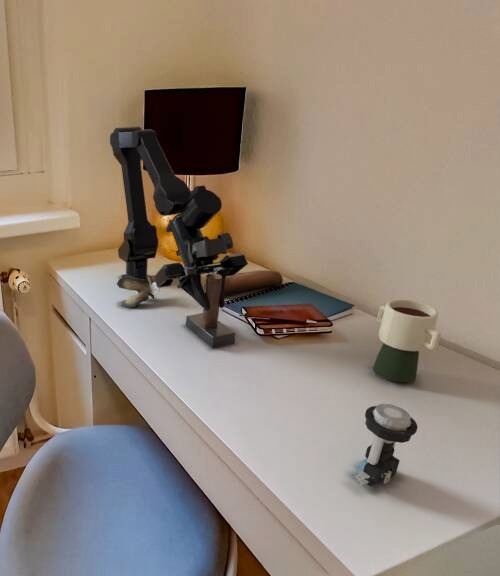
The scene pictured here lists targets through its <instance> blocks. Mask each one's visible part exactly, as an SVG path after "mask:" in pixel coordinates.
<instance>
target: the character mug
mask: <svg viewBox="0 0 500 576" xmlns="http://www.w3.org/2000/svg"><path fill="white" fill-rule="evenodd" d="M438 317H439V311H438V310H437V309H436V308H435V307H433V306H432V305H429V304H427V303H424V302H420V301H416V300H410V299H391V300H389V301H387V303H386V305H383V304H382V305H380V307H379V309H378V313H377V316H376V322H378V323H379V324H380V325H379V330H378V338H379V340H380V341H381V342H382V345H381V347H380V349H379V351H378V354H377V355H376V358H375V361H374V362H373V363H374V364H373V367H372V370H373V372H374V373H375V375H377V376H379V377H381V378H382V379H386V380H388V381H392V382H399V383H408V382H410V383H411V382H414V381H416V378H417V374H418V373H417V372H418V366H419V357H420V352H421V351H423V350H426V349H428V350H431V351H436V350H437V348H438V346H439V343H440V340H441V337H442V333H441V332H440V331H438V330H437V329H436V327H437V320H438Z"/></svg>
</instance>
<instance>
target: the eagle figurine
mask: <svg viewBox="0 0 500 576" xmlns="http://www.w3.org/2000/svg"><path fill="white" fill-rule="evenodd" d="M148 277H149V278H148V280H149V282H148V283H147V282H146V281H145V280H144V279H138V278H135V277H133V276H125V277H120V278H119V279H118V280H117V282H116V286H117V287H118V288H119V289H123V290H127V291H136V293H135V294H134V295H131V296H130V297H128V298H127V299H124V300H122V301H121V302H120V306H121V307H123V308H134V307H136V306H138V305H140V304H141V303H144V302H147V301H148V300H149V299H150V297H151V299H152V300H155V296H157V295H158V294H159V292H160V291H161V288H158V287H157V285H156V282H155V281H154V280H153V279H152V278H151V276H148ZM150 278H151V279H152V280H151V279H150Z"/></svg>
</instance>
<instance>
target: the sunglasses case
mask: <svg viewBox="0 0 500 576" xmlns="http://www.w3.org/2000/svg"><path fill="white" fill-rule="evenodd" d="M283 282H284V279H283V276H282V274H281V273H280V272H279V271H276V270H265V269H264V270H263V269H261V270H250V271H245V272H244V271H243V272H238V273H236V274H235V275H232V276H227V277H226V278H225V286H224V296H228V295H233V294H235V293H236V294H237V293H240V292H243V291H249V290H254V289H260V288H266V287H267V288H268V287H271V286H279V287H280V286H282V285H283ZM205 285H206V283H205V284H204V286H205Z"/></svg>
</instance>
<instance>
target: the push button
mask: <svg viewBox="0 0 500 576" xmlns="http://www.w3.org/2000/svg"><path fill="white" fill-rule="evenodd" d="M364 418H365V423H364V424H365V426H366V428H367V430H368V431H370V432H371V433H372V434H373V439H372V443H371V445H369V446H368V447H366V451H365V454H364V457H365V459H363V460H362V461H361V462H360V465H359V469H358V472H357V475H355V476H354V478H355V479H356V480H354V481H353V484H354V485H356V486H357V487H362V486H363V485H368V486H370V487H372V486H373V485H375V484H377V483H378V482H381V481H382V480H383V481H382V482H383V485H384V484H387V483H388V482H389V481H390V479H391V478H393V477H394V476H396V474H397V471H398V468H399V464H400V461H401V460H400V459H399V458H397V457H396V456H394V453H395V450H396V449H395V447H396V444H397V443H400V444H403V443H408V442H409V441H410V440H411V439H412V436H414V435H415V434H416V433H417V431H418V424H417V422H416V420H415V419H414V418H412V417H411V415H410V414H409V411H407V410H405V408H402V407H401V406H397V405H395V404H391V403H379V404H377V405H371V406H369V407H368V408H367V409H366V410H365V413H364Z"/></svg>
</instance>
